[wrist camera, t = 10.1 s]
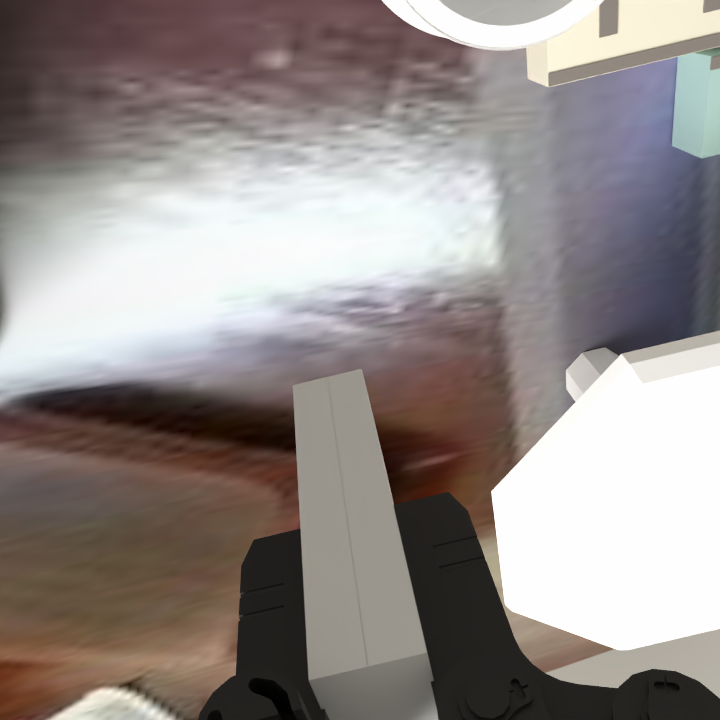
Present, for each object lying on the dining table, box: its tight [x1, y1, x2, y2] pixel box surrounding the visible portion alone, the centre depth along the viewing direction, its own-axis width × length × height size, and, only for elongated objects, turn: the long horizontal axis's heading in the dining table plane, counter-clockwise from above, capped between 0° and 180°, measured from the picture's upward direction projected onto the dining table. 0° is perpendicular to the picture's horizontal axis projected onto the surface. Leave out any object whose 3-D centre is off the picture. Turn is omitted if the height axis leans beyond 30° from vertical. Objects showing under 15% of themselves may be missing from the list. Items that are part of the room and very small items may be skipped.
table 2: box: [491, 331, 720, 650], centre depth 45 cm, size 28×28×17 cm
